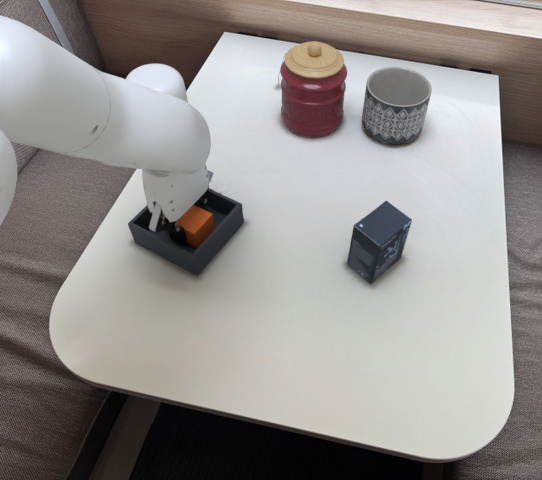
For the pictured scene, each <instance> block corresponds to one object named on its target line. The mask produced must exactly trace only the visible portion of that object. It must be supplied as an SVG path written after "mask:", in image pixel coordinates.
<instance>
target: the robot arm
mask: <svg viewBox="0 0 542 480" xmlns="http://www.w3.org/2000/svg"><path fill="white" fill-rule="evenodd" d="M188 99H189V98H188V95H187V89H186V86H185V82H184V78H183V76H182V75H181V73H180V72H179V71H178V70H177V69H175V68H174V67H173V66H170V65H168V64H164V63H147V64H143V65H140V66H138V67H136V68H134V69H132V70H131V71H130V72H129V73H128V75H127V76H126V77H125V78H124V77H120V76H117V75H113V74H110V73H107V72H104V71H101V70H99V69H98V68H95V66H93V65H91V64H89V63H88V62H86V61H85V60H83V59H81V58H79V57H78V56H77V55H75V54H74V53H72V52H70V51H69V50H68V49H66V48H64V47H63V46H61V45H59V43H56V42H55V41H53V40H51V39H50V38H48V37H47V36H46V35H44V34H42V33H41V32H39V31H37V30H35V29H34V28H33V27H31V26H28V25H27V24H25V23H23V22H21V21H19V20H16V19H13V18H11V17H8V16H4V15H0V226H1V225H2V223H3V222H4V220H5V218H6V217H7V215H8V213H9V211H10V209H11V206H12V203H13V200H14V198H15V194H16V189H17V188H16V187H17V183H18V162H17V158H16V152H15V149H14V146H13V144H12V143H16V144H18V145H19V144H20V145H24V146H28V147H33V148H37V149H41V150H45V151H49V152H51V153H55V154H60V155H63V156H67V157H72V158H78V159H85V160H91V161H96V162H98V163H100V164H102V165H106V166H110V167H116V168H117V167H119V168H127V169H128V168H129V169H137V170H141V177H142V187H143V192H144V197H145V200H146V206H147V205H148V208H149V211H150V212H151V213H153V214H152V218H151V221H150V225H149V229H150V230H152V231H154V232H156V233H157V232H162V231H168V232H169V235H170V238H171V239H172V240H173V241H175V242H178V241H179V242H181V243H183V244H186V243H187V238H186V235H185V231H184V228H183V227H182V226H181V216H182V215H183V214H184V213H185V212H186V211H187V210H188V209H189V208H190V207H191V206H192V205H195V206H197V207H199V208H201V209H204V210H206V205H205V203H206V202H207V200H208V198H207V197H206V194H207V191H208V189H209V188H210V184H211V181H212V179H213V176H214V172H213V171H210V170H209V169H208V166H207V161H208V159H209V156H210V153H211V147H212V139H211V138H212V137H211V132H210V128H209V125H208V123H207V120H206V119H205V117H204V116H203V115H202V113H201V112H200V111H199V110H198V109H197V108H195V107H194V106H193V105H192V104H190V103H189V100H188ZM206 211H207V210H206Z"/></svg>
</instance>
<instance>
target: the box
mask: <svg viewBox="0 0 542 480" xmlns="http://www.w3.org/2000/svg"><path fill="white" fill-rule="evenodd" d="M412 222H413V219H412V218H410V216H408V215H406V214H405V213H404V212H402V211H401V210H400V209H398V208H397V207H396V206H394V205H393V204H392V203H390V202H389V201H388V200H384V201H383V202H382V203H381V204H379V205H378V206H377V207H376V208H375V209H373V210H372V211H370V213H368V214H366V215H365V216H364V217H363V218H361V219H360V220H359V221H358V222H356V223H355V224H353V227H352V233H351V238H350V244H349V249H348V254H347V255H348V256H347V261H346V265H347V266H348V267H349V268H351V269H352V270H353V271H354V272H355V273H357V275H359V276H360V277H361V278H362V279H363V280H364V281H366V282H367V283H368V284H373V283H374V282H375V281H376V280H377V279H379V277H381V276H382V275H383V274H384V273H385V272H387V271H388V270H389V269H390V268H391V267H393V265H395V264H396V263H397V262H399V261H400V260H401V259H402V256H403V253H404V248H405V246H406V242H407V239H408V236H409V232H410V228H411V226H412Z"/></svg>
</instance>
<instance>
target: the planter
mask: <svg viewBox="0 0 542 480" xmlns="http://www.w3.org/2000/svg"><path fill="white" fill-rule="evenodd" d="M432 91H433V89H432V85H431V82H430V81H429V80H428V78H426V76H424V75H423V74H422V73H420V72H418V71H416V70H413V69H411V68H407V67H403V66H387V67H381V68H379V69H376V70H375V71H373V72H372V73H371V74H370V75H369V76H368V77H367V80H366V83H365V92H364V98H363V99H364V100H363V108H362V114H361V115H362V116H361V125H362V128H363V130H364V131H365V133H366V134H367V135H368V136H370V137H371V138H373V139H374V140H376V141H379V142H380V143H384V144H389V145H403V144H406V143H407V144H408V143H409V142H412V141H414V140H415V139H417V138H418V137H419V136H420V135H421V133H422V131H423V127H424V123H425V119H426V115H427V111H428V108H429V105H430V100H431V96H432Z"/></svg>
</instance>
